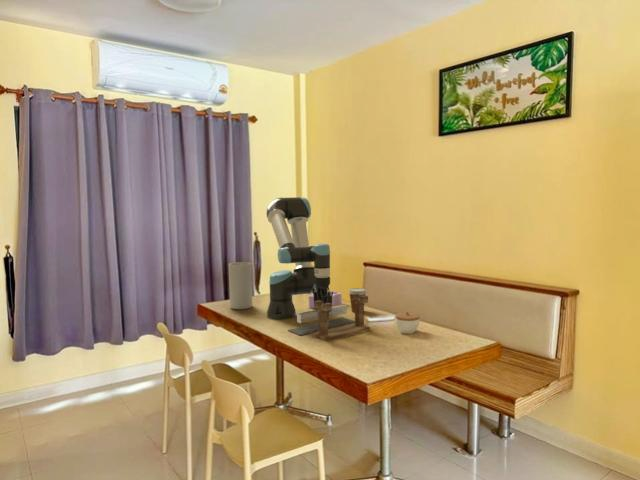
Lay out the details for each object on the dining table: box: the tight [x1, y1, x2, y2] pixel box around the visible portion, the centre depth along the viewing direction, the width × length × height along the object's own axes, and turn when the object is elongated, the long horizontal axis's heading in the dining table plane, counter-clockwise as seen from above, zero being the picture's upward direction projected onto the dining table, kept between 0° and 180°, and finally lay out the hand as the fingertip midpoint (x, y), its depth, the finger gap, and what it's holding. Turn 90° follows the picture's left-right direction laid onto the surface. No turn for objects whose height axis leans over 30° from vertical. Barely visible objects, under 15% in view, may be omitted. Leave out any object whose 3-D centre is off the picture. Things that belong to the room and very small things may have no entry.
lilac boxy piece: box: [308, 290, 343, 309], centre depth 259 cm, size 20×12×7 cm, turn 131°
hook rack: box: [312, 293, 371, 342], centre depth 208 cm, size 10×26×16 cm, turn 128°
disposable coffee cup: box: [348, 287, 367, 314], centre depth 246 cm, size 10×10×12 cm
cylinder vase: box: [228, 261, 253, 310], centre depth 259 cm, size 12×12×25 cm
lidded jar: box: [395, 311, 420, 335], centre depth 209 cm, size 11×11×9 cm
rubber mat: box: [287, 316, 355, 336], centre depth 219 cm, size 10×34×1 cm, turn 128°
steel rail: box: [296, 304, 348, 324], centre depth 219 cm, size 3×28×4 cm, turn 128°
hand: (322, 324), depth 219 cm, fingers closed on steel rail, 3 cm apart
